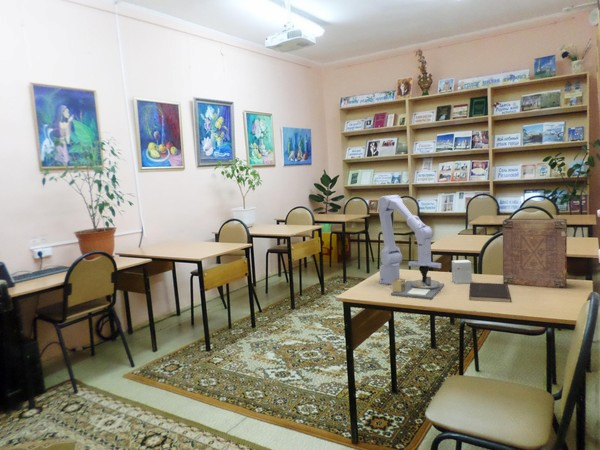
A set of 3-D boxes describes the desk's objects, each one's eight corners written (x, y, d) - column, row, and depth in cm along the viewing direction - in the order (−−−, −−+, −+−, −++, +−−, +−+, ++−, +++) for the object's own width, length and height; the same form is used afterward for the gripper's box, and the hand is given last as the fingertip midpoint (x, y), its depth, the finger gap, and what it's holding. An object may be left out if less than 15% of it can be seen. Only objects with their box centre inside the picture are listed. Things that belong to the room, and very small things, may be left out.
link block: (392, 292, 193) (392, 281, 193) (396, 288, 198) (396, 277, 198) (401, 292, 191) (400, 281, 191) (405, 289, 196) (404, 278, 196)
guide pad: (407, 294, 189) (407, 293, 189) (412, 289, 196) (412, 287, 196) (425, 295, 185) (425, 294, 185) (430, 290, 192) (430, 289, 192)
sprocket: (414, 289, 194) (414, 278, 194) (408, 282, 207) (408, 272, 206) (443, 288, 193) (443, 277, 193) (435, 281, 206) (435, 270, 206)
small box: (468, 280, 210) (467, 259, 209) (472, 283, 204) (471, 261, 203) (451, 281, 210) (451, 260, 209) (455, 283, 205) (454, 262, 204)
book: (566, 283, 194) (567, 218, 191) (566, 288, 186) (567, 221, 183) (505, 279, 208) (505, 218, 204) (502, 283, 200) (502, 220, 197)
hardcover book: (469, 301, 179) (469, 295, 178) (470, 287, 200) (470, 282, 200) (511, 303, 173) (511, 298, 172) (507, 288, 194) (507, 283, 193)
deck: (391, 295, 192) (391, 293, 192) (407, 282, 212) (407, 280, 212) (431, 299, 182) (431, 297, 182) (444, 285, 203) (444, 283, 203)
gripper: (406, 253, 195) (406, 282, 197) (438, 255, 187) (438, 285, 189) (410, 251, 201) (411, 279, 203) (442, 252, 193) (442, 281, 195)
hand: (424, 282), depth 196 cm, fingers closed, pressing on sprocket
